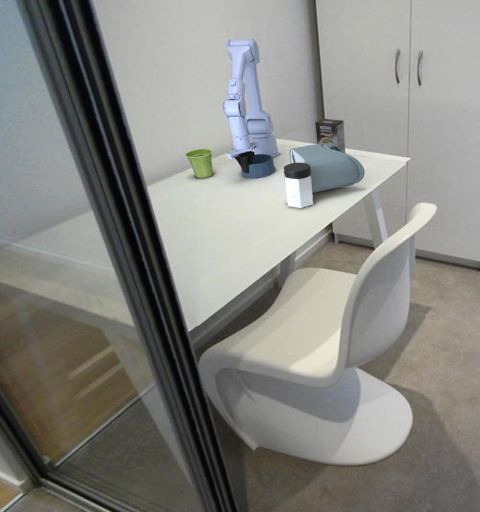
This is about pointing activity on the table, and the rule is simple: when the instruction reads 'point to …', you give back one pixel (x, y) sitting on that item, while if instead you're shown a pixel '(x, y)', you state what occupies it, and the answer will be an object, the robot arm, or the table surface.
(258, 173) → the tub
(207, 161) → the plant pot
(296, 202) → the jar
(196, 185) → the table surface
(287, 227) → the table surface
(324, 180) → the grey-blue rounded tapered piece
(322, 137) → the coffee box
